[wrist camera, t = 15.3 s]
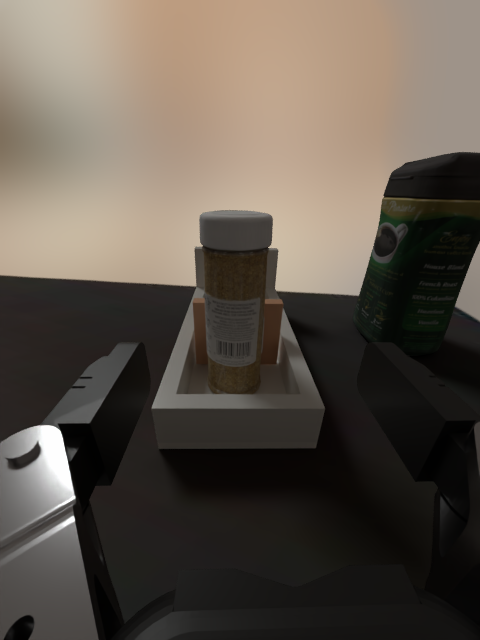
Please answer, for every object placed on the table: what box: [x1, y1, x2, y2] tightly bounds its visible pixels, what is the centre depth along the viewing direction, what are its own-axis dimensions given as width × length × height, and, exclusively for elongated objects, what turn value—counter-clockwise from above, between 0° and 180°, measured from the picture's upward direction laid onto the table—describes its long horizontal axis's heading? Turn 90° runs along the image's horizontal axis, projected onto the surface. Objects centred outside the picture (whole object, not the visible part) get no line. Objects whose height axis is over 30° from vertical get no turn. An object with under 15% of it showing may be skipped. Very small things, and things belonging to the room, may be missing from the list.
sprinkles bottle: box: [200, 210, 273, 394], centre depth 19 cm, size 5×5×13 cm
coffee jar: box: [353, 152, 480, 356], centre depth 27 cm, size 10×8×19 cm
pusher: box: [193, 298, 283, 364], centre depth 26 cm, size 8×7×6 cm
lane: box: [152, 247, 325, 449], centre depth 25 cm, size 22×10×9 cm, turn 1°
